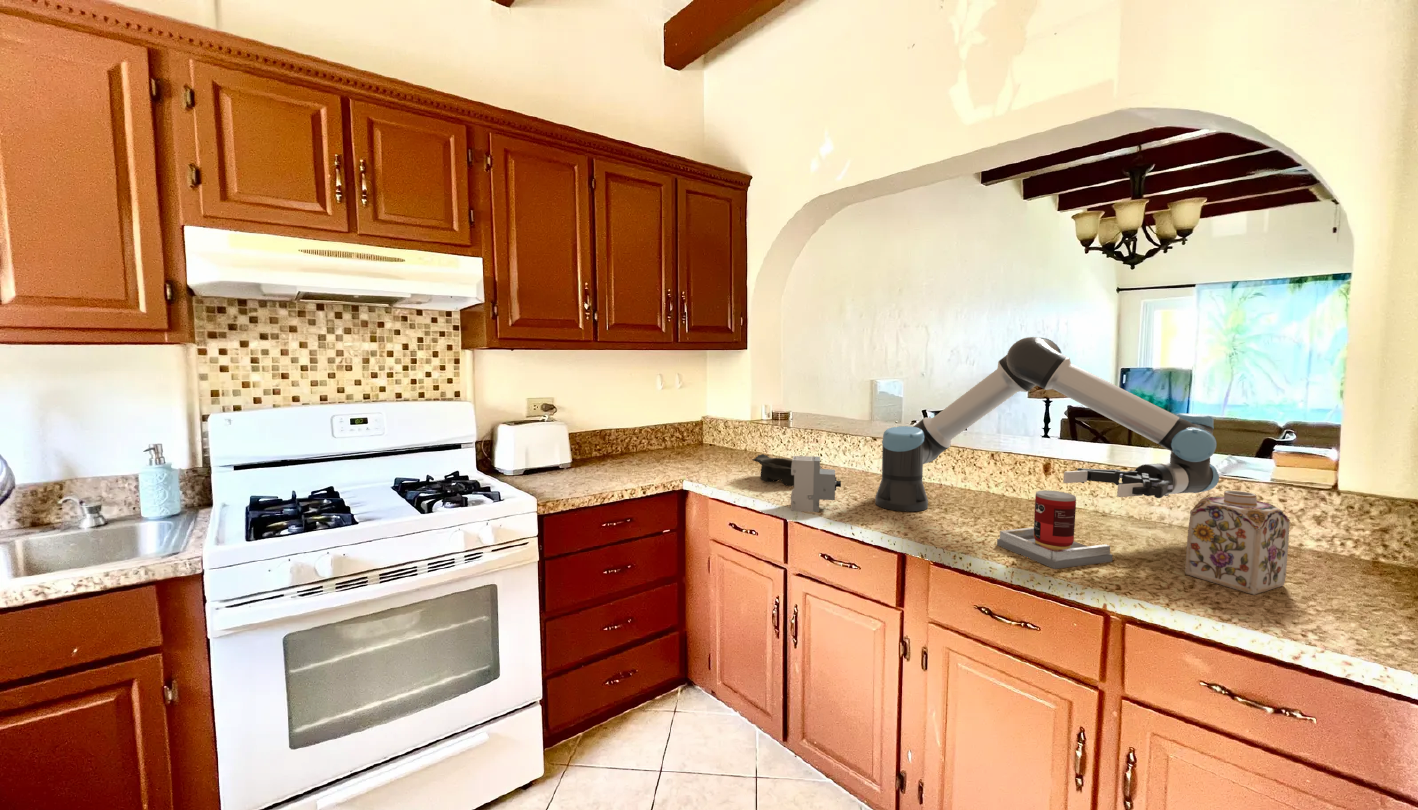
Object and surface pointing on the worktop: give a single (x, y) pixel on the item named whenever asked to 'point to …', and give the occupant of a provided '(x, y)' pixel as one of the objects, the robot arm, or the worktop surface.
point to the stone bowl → (776, 469)
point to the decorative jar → (1238, 542)
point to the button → (1053, 546)
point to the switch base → (1076, 556)
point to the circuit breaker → (811, 484)
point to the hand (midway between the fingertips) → (1090, 483)
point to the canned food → (1054, 518)
